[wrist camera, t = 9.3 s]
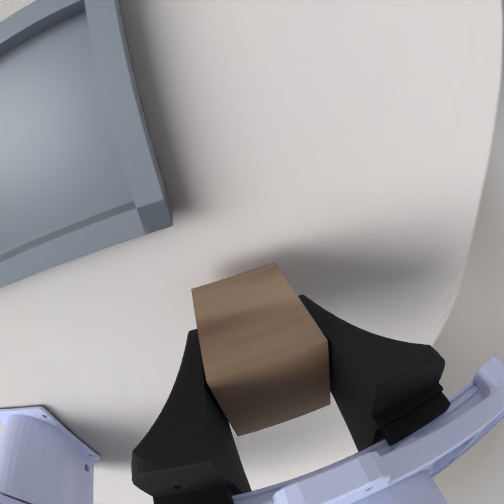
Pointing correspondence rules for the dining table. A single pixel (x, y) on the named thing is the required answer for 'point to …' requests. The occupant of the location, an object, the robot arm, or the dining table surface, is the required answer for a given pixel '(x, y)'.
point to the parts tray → (71, 138)
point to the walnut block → (261, 349)
